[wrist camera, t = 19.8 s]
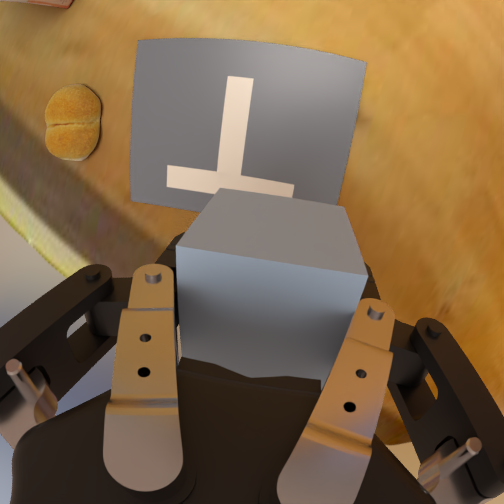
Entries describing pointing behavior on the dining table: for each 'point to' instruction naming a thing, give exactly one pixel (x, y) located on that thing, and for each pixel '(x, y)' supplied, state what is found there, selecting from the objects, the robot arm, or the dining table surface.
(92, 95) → the bread roll
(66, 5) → the cracker box
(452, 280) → the dining table surface
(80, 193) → the dining table surface
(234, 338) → the gray cube
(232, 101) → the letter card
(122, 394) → the robot arm
